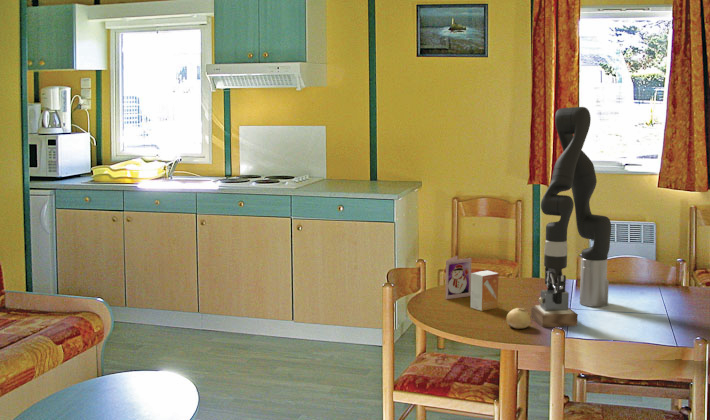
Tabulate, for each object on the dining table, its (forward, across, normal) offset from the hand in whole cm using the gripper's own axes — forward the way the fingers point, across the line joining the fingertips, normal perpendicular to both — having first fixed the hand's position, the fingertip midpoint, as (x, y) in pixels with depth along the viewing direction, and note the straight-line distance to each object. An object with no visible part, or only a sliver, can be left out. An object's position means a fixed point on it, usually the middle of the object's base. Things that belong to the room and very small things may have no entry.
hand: (554, 300), depth 273 cm
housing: (+3, 0, 0) cm, 3 cm away
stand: (+7, 0, 0) cm, 7 cm away
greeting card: (+7, +38, +26) cm, 47 cm away
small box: (+7, +20, +19) cm, 29 cm away
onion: (+8, -5, +14) cm, 17 cm away
